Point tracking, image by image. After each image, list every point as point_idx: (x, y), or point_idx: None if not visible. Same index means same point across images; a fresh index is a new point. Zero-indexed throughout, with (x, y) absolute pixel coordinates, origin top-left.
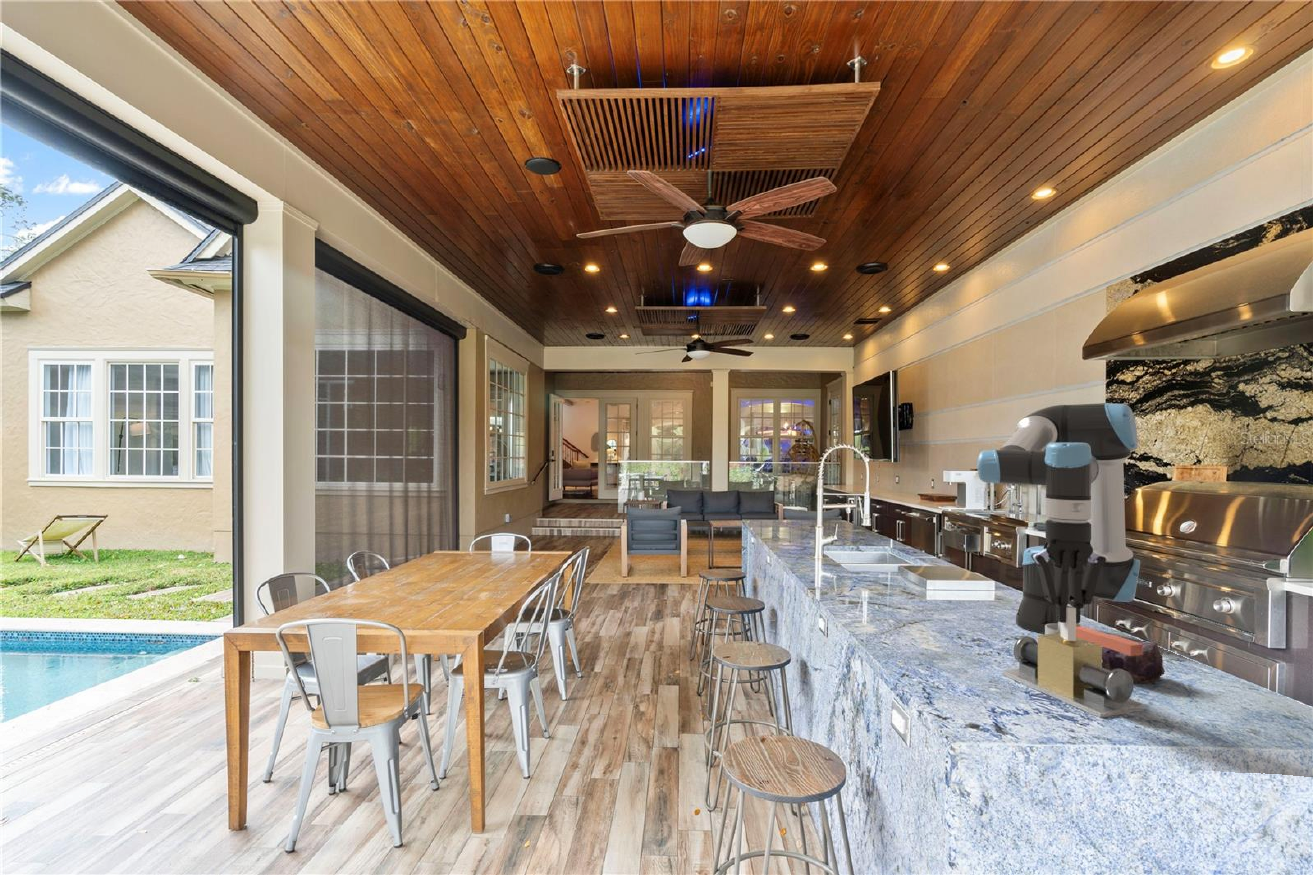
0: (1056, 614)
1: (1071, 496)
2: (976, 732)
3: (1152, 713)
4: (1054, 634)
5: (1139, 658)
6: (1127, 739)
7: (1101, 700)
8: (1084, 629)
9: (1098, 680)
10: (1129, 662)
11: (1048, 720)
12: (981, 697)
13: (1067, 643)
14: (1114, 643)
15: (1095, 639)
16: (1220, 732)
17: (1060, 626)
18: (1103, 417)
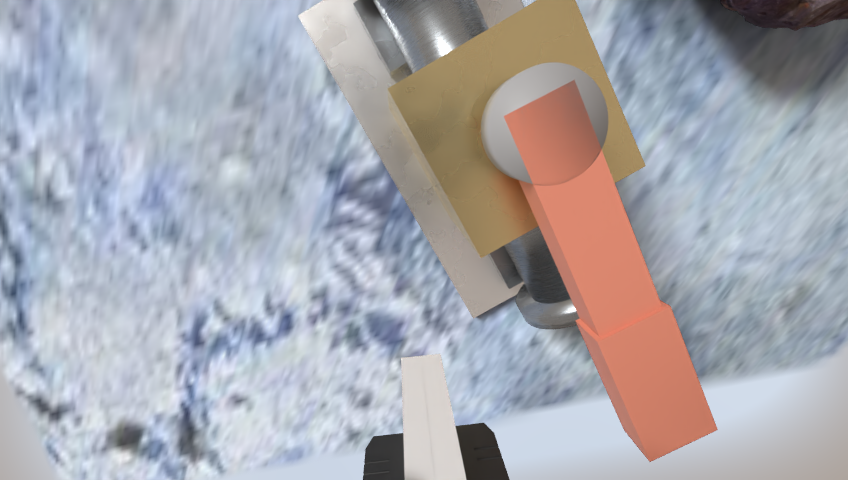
0: (365, 472)
1: None
2: (129, 468)
3: None
4: (484, 48)
5: (805, 17)
6: (474, 415)
7: (502, 279)
8: (581, 228)
9: (520, 272)
10: (760, 6)
11: (328, 359)
12: (181, 248)
13: (482, 199)
14: (615, 392)
15: (578, 304)
16: (714, 325)
17: (402, 387)
18: None
